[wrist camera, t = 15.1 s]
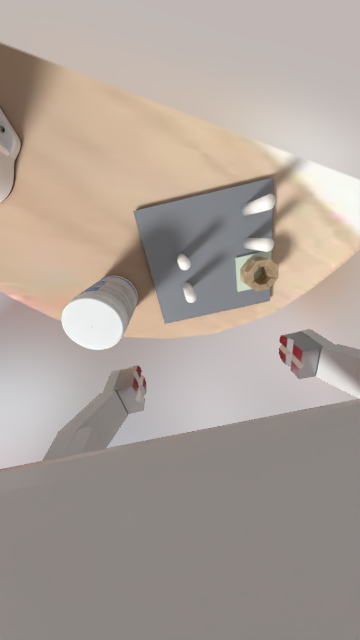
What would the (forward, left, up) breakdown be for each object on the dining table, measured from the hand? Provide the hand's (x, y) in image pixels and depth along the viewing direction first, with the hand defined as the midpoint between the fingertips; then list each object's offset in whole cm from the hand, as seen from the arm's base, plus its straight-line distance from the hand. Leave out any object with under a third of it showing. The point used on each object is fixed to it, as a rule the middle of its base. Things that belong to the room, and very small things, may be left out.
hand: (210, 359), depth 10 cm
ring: (+4, +16, -29) cm, 34 cm away
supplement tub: (+3, -15, -31) cm, 35 cm away
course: (0, +7, -31) cm, 32 cm away
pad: (+4, +16, -30) cm, 34 cm away
